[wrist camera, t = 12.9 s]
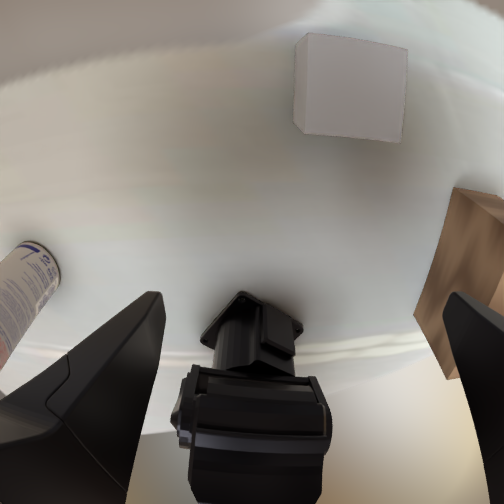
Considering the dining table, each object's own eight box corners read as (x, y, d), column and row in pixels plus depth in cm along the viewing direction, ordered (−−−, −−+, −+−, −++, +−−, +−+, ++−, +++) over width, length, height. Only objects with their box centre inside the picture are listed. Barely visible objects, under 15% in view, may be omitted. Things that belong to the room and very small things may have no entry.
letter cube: (292, 122, 19) (304, 133, 14) (295, 45, 16) (308, 32, 12) (371, 128, 19) (403, 143, 14) (375, 55, 16) (410, 50, 12)
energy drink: (7, 254, 23) (-69, 337, 13) (36, 230, 22) (-53, 322, 12) (39, 298, 26) (-23, 390, 15) (71, 280, 25) (3, 385, 14)
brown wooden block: (454, 311, 26) (490, 371, 19) (412, 313, 26) (446, 380, 19) (495, 194, 20) (557, 240, 13) (452, 186, 20) (517, 235, 13)
